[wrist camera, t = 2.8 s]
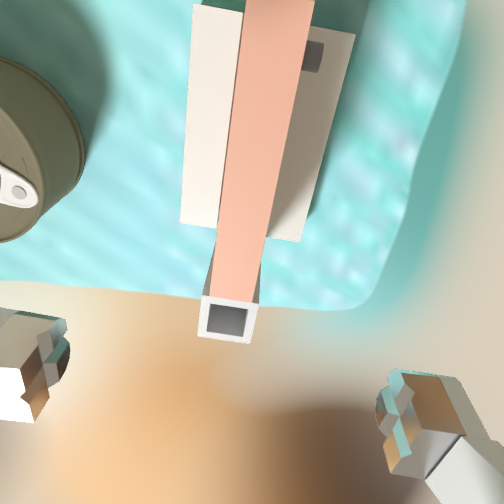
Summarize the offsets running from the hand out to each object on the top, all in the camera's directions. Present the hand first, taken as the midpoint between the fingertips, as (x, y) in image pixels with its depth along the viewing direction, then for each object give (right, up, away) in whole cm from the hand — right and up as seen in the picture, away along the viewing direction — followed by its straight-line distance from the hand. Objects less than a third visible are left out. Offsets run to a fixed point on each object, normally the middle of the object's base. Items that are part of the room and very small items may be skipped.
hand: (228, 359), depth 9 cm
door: (+1, +11, +19) cm, 22 cm away
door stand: (+1, +12, +19) cm, 22 cm away
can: (-19, +12, +20) cm, 30 cm away
